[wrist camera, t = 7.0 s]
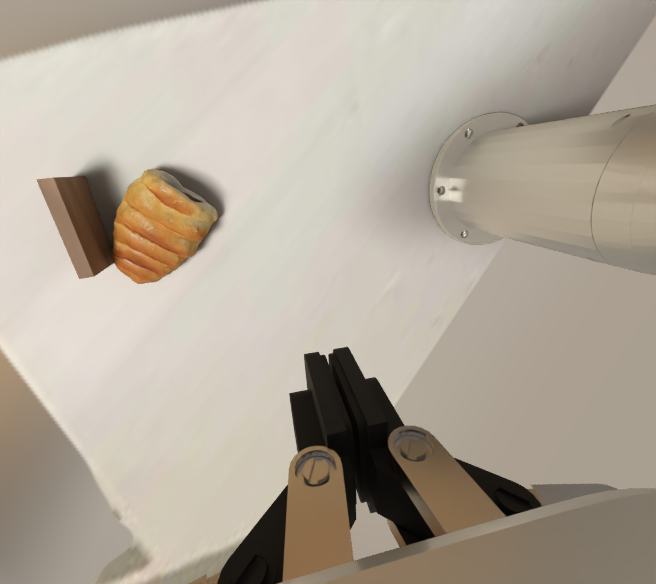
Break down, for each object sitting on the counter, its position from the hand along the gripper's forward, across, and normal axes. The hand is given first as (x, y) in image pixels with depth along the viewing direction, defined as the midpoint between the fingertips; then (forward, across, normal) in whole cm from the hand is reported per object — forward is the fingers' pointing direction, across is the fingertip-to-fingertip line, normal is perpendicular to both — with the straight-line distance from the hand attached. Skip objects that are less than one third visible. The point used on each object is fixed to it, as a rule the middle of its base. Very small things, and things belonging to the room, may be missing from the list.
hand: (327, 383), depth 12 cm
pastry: (+21, +10, -4) cm, 24 cm away
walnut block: (+21, +15, -4) cm, 26 cm away
